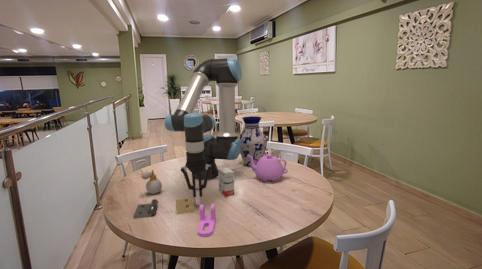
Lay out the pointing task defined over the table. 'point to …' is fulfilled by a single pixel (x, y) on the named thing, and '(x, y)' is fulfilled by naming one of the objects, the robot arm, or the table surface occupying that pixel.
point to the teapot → (268, 168)
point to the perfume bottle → (152, 182)
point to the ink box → (226, 181)
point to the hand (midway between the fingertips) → (198, 203)
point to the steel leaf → (146, 209)
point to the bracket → (206, 221)
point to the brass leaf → (184, 206)
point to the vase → (252, 140)
